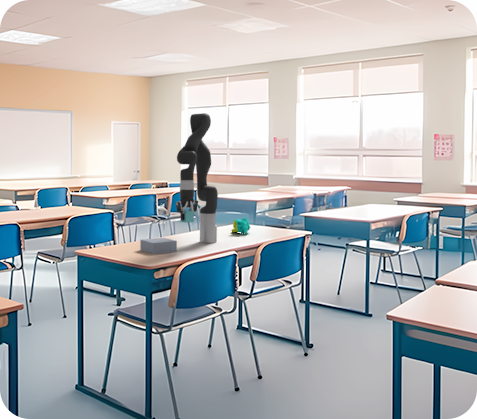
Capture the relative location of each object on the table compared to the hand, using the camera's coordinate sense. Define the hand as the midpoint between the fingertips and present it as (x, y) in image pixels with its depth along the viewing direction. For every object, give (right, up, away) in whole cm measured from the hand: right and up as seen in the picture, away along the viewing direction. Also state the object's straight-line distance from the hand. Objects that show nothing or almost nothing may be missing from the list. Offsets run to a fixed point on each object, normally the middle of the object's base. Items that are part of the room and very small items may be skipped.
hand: (186, 219), depth 289 cm
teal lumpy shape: (+30, -11, +67) cm, 74 cm away
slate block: (-15, -17, -3) cm, 23 cm away
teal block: (0, -1, 0) cm, 1 cm away
